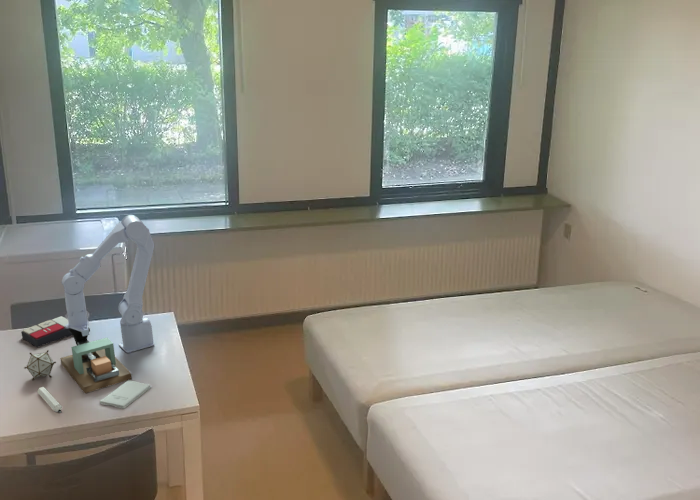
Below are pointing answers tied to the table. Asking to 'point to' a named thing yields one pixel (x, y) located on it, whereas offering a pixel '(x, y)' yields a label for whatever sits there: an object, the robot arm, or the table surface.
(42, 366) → the game die
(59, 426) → the table surface
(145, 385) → the external hard drive
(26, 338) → the sliding block puzzle
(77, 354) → the tunnel
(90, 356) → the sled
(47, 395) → the marker
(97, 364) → the block
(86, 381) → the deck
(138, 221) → the robot arm
